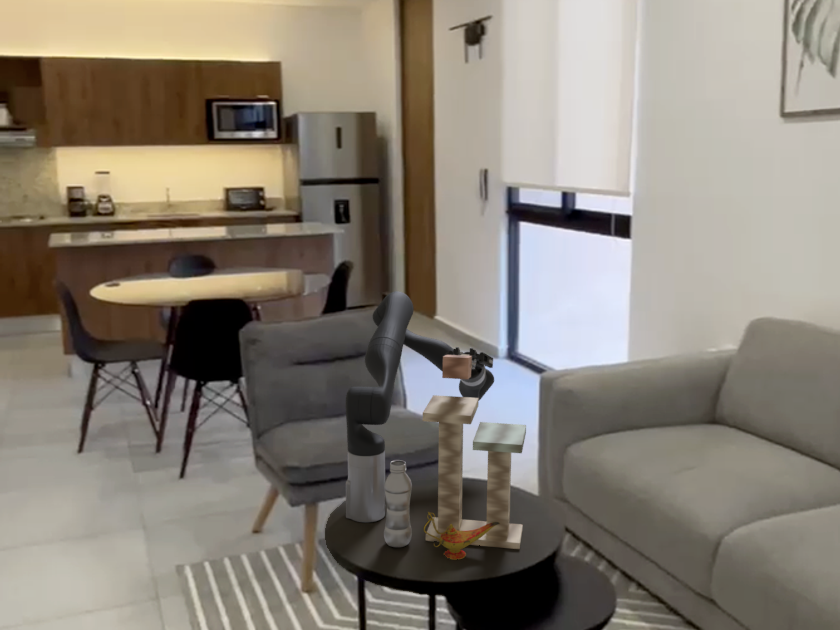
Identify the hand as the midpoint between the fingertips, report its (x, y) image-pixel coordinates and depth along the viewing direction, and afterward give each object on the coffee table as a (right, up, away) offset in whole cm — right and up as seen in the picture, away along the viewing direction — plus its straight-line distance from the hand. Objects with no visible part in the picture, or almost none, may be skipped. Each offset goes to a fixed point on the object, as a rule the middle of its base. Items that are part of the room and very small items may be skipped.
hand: (463, 351), depth 212 cm
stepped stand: (+2, -44, -9) cm, 45 cm away
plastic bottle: (-16, -45, -14) cm, 49 cm away
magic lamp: (-1, -46, -18) cm, 49 cm away
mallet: (-1, -5, -3) cm, 6 cm away
